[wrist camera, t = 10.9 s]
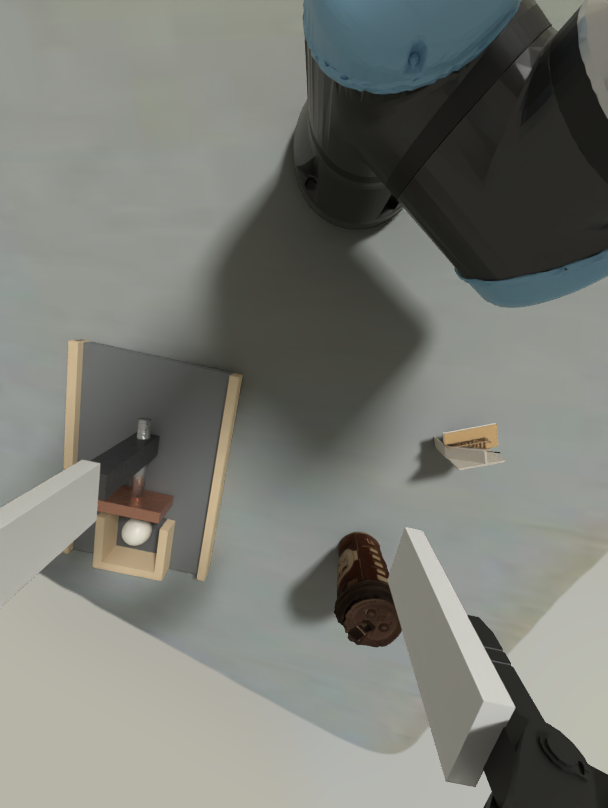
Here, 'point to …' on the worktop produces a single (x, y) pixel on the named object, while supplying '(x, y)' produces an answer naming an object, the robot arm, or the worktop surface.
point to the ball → (136, 531)
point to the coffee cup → (365, 593)
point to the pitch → (177, 452)
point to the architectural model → (470, 446)
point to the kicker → (124, 465)
